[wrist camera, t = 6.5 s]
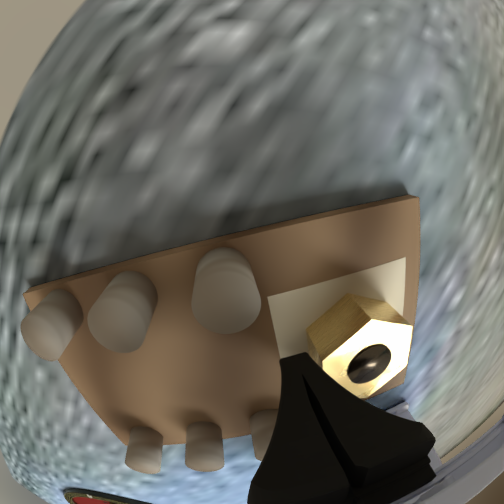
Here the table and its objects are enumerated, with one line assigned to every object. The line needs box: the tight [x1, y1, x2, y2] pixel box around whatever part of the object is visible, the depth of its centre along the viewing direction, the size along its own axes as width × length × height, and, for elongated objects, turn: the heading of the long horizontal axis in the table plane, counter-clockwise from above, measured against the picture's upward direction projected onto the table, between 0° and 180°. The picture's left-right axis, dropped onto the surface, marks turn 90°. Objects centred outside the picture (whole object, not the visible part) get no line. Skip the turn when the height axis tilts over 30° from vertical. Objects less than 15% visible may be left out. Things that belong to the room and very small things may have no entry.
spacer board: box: [21, 195, 420, 474], centre depth 12 cm, size 20×13×3 cm, turn 102°
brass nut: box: [306, 293, 412, 398], centre depth 12 cm, size 5×4×2 cm
